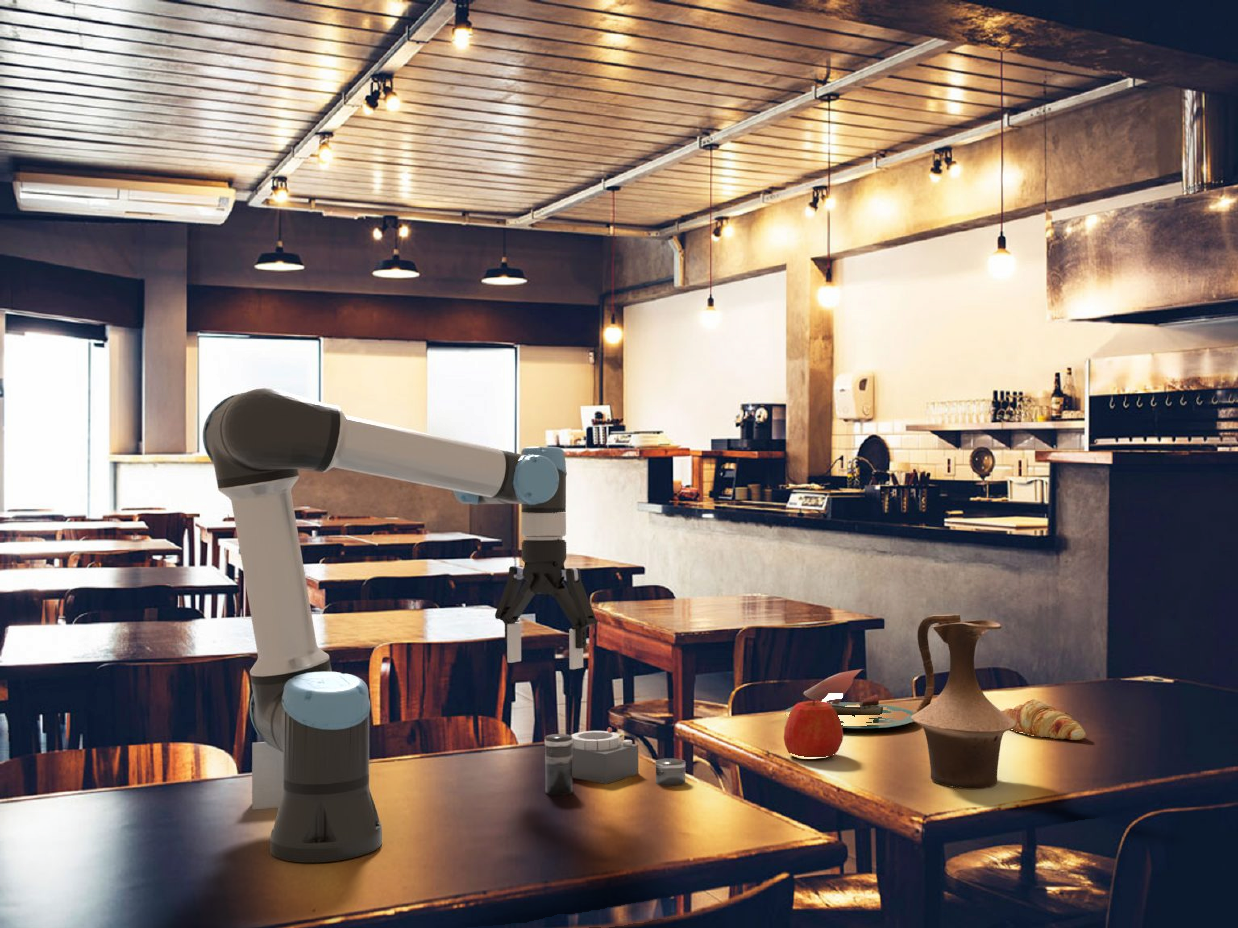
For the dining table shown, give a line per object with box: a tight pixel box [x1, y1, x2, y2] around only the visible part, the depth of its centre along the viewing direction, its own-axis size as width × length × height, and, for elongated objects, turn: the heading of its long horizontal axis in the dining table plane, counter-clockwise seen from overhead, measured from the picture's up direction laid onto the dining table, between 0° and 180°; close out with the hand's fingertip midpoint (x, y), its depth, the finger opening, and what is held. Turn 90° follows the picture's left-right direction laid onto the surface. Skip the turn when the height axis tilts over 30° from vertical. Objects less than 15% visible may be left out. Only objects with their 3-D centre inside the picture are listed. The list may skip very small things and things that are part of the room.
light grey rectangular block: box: [251, 741, 284, 810], centre depth 186 cm, size 4×7×10 cm, turn 107°
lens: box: [544, 733, 573, 796], centre depth 192 cm, size 5×5×9 cm
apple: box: [783, 699, 844, 757], centre depth 216 cm, size 11×11×11 cm
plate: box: [784, 668, 915, 729], centre depth 249 cm, size 28×28×11 cm
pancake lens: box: [654, 758, 686, 787], centre depth 198 cm, size 5×5×4 cm
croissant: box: [1001, 699, 1087, 741], centre depth 235 cm, size 21×10×8 cm, turn 32°
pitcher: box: [911, 613, 1016, 790], centre depth 197 cm, size 18×17×28 cm
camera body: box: [570, 727, 640, 785], centre depth 204 cm, size 9×12×7 cm
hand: (544, 665), depth 196 cm, fingers open, 13 cm apart
